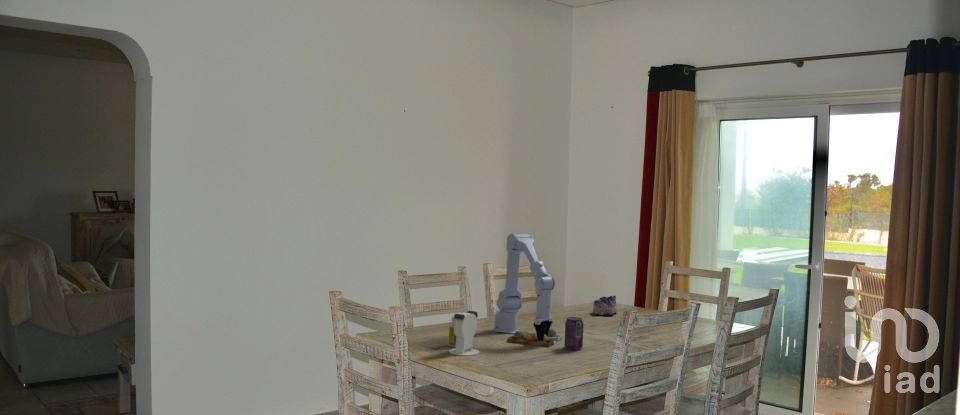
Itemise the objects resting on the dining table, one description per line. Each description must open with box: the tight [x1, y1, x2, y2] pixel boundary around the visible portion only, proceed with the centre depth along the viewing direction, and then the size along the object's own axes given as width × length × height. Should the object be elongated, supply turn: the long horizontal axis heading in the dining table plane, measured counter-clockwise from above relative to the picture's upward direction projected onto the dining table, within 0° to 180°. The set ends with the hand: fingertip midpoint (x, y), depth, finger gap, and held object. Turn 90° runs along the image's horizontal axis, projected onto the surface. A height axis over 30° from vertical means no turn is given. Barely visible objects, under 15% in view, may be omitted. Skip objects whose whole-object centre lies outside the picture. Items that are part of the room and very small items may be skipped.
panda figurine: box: [449, 310, 480, 357], centre depth 287 cm, size 12×11×15 cm
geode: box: [592, 295, 618, 316], centre depth 385 cm, size 20×12×10 cm, turn 159°
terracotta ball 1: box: [526, 331, 536, 341], centre depth 307 cm, size 4×4×4 cm
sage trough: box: [521, 330, 564, 344], centre depth 316 cm, size 18×11×2 cm, turn 67°
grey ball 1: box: [513, 330, 524, 340], centre depth 309 cm, size 4×4×4 cm
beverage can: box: [564, 316, 584, 351], centre depth 300 cm, size 7×7×12 cm
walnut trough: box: [506, 335, 555, 348], centre depth 307 cm, size 18×6×2 cm, turn 67°
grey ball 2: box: [548, 327, 557, 337], centre depth 316 cm, size 4×4×4 cm
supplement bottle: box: [448, 315, 456, 348], centre depth 297 cm, size 6×6×11 cm
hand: (542, 339), depth 305 cm, fingers closed on terracotta ball 2, 4 cm apart
